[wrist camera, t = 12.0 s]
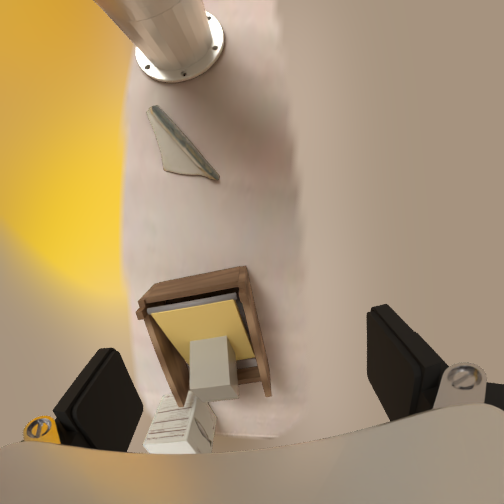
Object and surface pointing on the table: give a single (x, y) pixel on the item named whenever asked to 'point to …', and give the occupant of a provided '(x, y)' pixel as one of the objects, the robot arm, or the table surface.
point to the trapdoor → (204, 324)
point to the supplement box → (181, 427)
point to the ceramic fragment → (177, 147)
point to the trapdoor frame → (195, 285)
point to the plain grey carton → (213, 370)
